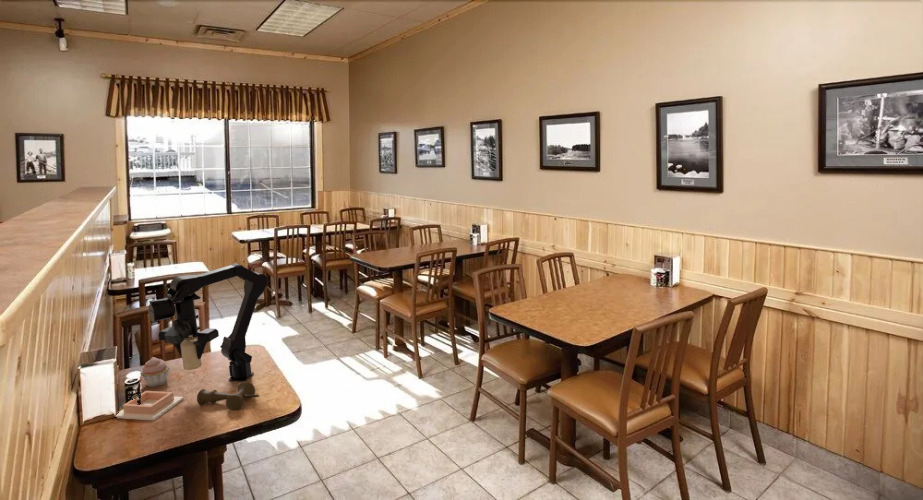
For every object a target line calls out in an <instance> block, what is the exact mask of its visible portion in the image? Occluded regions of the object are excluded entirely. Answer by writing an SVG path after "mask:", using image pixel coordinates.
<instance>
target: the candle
mask: <svg viewBox="0 0 923 500" xmlns="http://www.w3.org/2000/svg"><path fill="white" fill-rule="evenodd" d="M195 341H197V338H196V337H188V338H187V339H184V341H183V342H182V343H181V344H180V345H181V353H182V357H181V359H182V367H183V370H185V371H191V370H196V369H199V368H201V367H202V360H201V359H202V357H201V358H200V359H198V357H197V351H196V345H195V344H193V342H195Z"/></svg>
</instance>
